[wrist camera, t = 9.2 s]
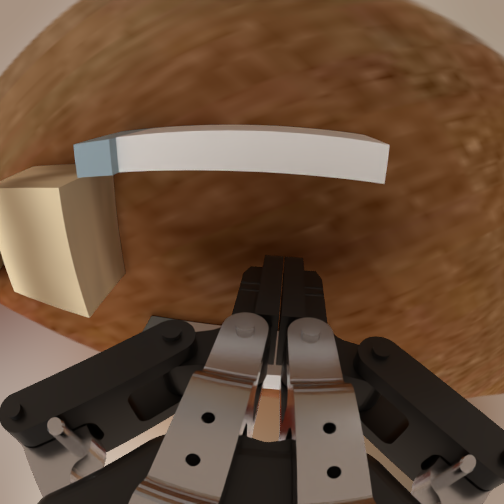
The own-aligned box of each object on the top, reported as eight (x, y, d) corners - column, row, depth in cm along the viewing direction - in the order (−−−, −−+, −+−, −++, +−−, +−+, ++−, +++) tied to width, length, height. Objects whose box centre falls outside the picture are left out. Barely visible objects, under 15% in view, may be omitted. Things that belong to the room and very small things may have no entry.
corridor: (364, 134, 10) (394, 146, 7) (324, 348, 15) (327, 398, 12) (122, 131, 11) (73, 144, 8) (155, 330, 16) (134, 372, 13)
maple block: (114, 161, 12) (58, 187, 8) (127, 271, 15) (89, 317, 11) (36, 165, 12) (-15, 188, 9) (53, 256, 15) (14, 291, 11)
